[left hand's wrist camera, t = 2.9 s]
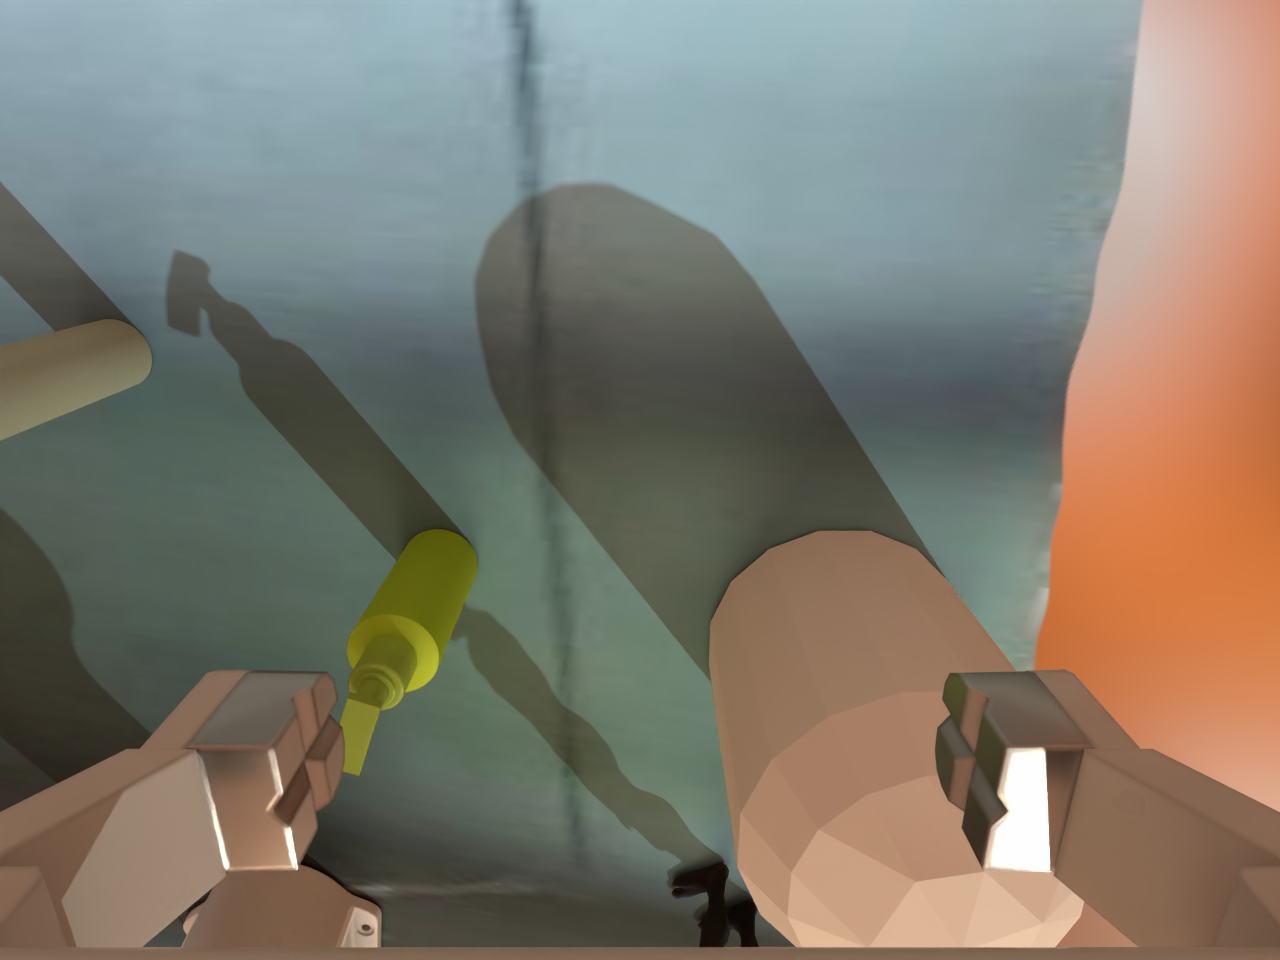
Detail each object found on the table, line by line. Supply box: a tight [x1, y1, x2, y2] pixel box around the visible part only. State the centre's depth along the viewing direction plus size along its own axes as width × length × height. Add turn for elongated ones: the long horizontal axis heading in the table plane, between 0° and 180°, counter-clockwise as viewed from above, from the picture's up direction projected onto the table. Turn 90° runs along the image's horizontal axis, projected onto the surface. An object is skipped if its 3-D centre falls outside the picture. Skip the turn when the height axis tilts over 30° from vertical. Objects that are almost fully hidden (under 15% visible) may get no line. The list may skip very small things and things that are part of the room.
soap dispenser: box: [339, 529, 478, 775], centre depth 54 cm, size 6×7×20 cm
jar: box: [0, 319, 152, 440], centre depth 49 cm, size 5×5×19 cm
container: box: [709, 531, 1084, 947], centre depth 53 cm, size 21×21×28 cm
